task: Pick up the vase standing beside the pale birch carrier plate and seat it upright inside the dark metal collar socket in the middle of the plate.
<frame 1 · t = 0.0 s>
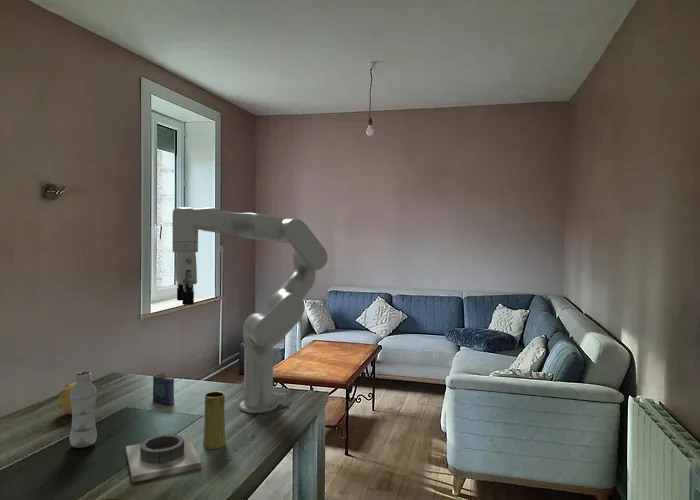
hand: (185, 302, 155), 37 cm above the table, tool pointing down, fingers open, 9 cm apart
plastic bottle: (83, 446, 137), on the table
vase: (214, 445, 139), on the table
carrier plate: (162, 459, 129), on the table
flask: (162, 403, 171), on the table
stress ball: (76, 414, 160), on the table
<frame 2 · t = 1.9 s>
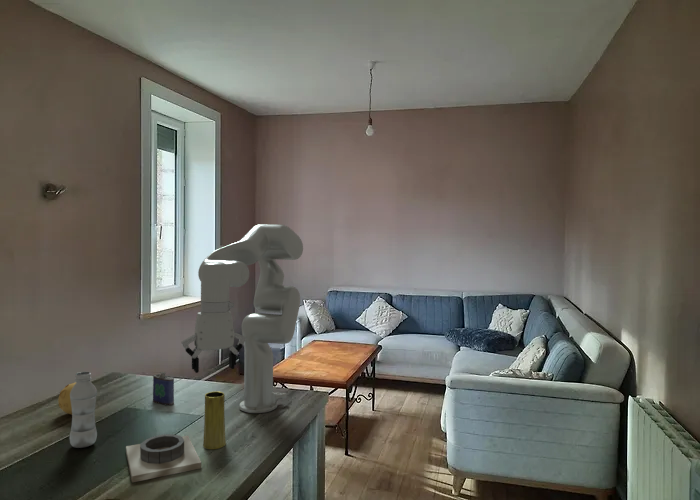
hand: (214, 369, 137), 21 cm above the table, tool pointing down, fingers open, 9 cm apart
nothing on the table moved.
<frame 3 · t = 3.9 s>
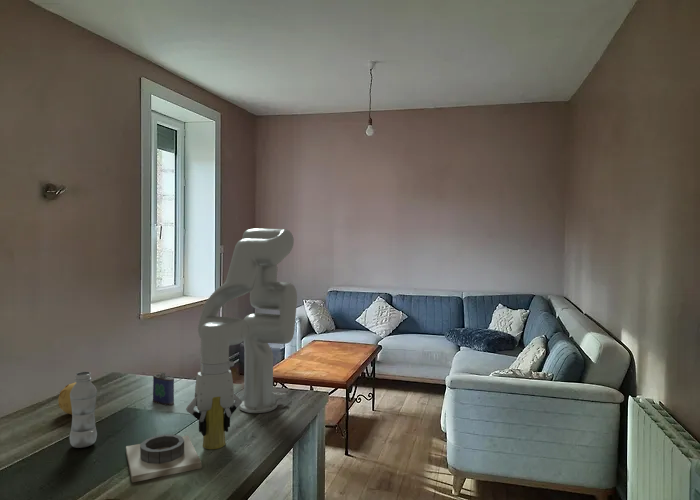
hand: (214, 431, 138), 4 cm above the table, tool pointing down, fingers closed on vase, 5 cm apart
vase: (214, 445, 139), on the table, touching gripper
everything else where it was.
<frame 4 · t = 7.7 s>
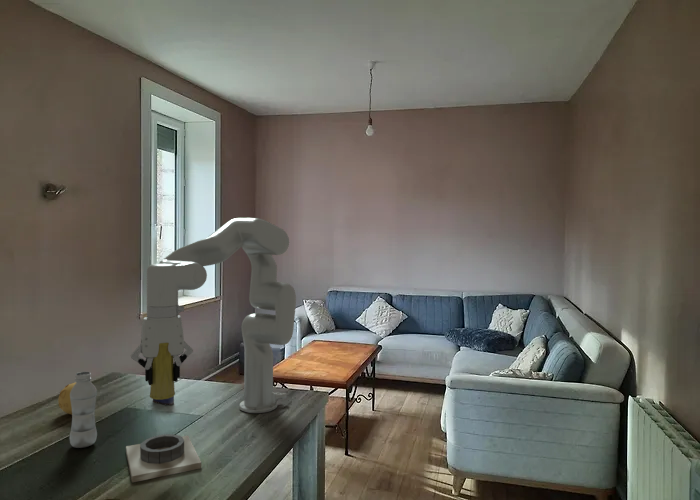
hand: (162, 381, 128), 21 cm above the table, tool pointing down, fingers closed on vase, 5 cm apart
vase: (162, 396, 129), point 17 cm above the table, touching gripper
everything else where it was.
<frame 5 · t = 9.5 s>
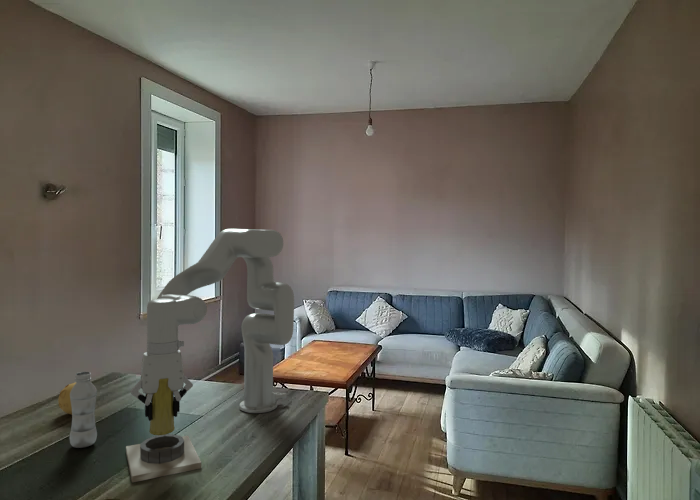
hand: (162, 416, 129), 11 cm above the table, tool pointing down, fingers closed on vase, 5 cm apart
vase: (162, 431, 129), point 7 cm above the table, touching gripper
everything else where it was.
when the fingers open (6 cm above the table, at t = 11.3 s): vase stays where it is, resting on carrier plate.
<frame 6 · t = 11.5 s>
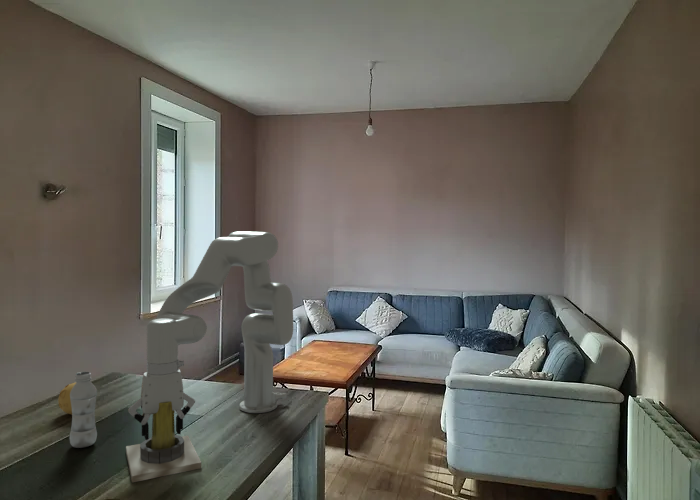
hand: (162, 434, 129), 7 cm above the table, tool pointing down, fingers open, 7 cm apart
vase: (162, 454, 129), point 1 cm above the table, touching carrier plate
everything else where it was.
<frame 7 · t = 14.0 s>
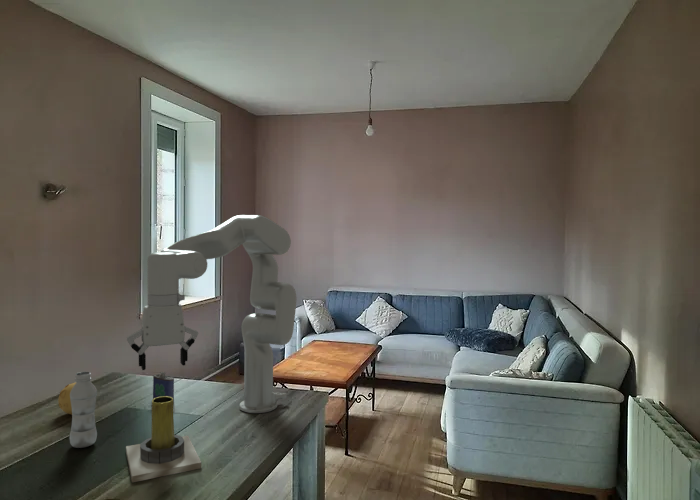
hand: (163, 366, 129), 24 cm above the table, tool pointing down, fingers open, 9 cm apart
nothing on the table moved.
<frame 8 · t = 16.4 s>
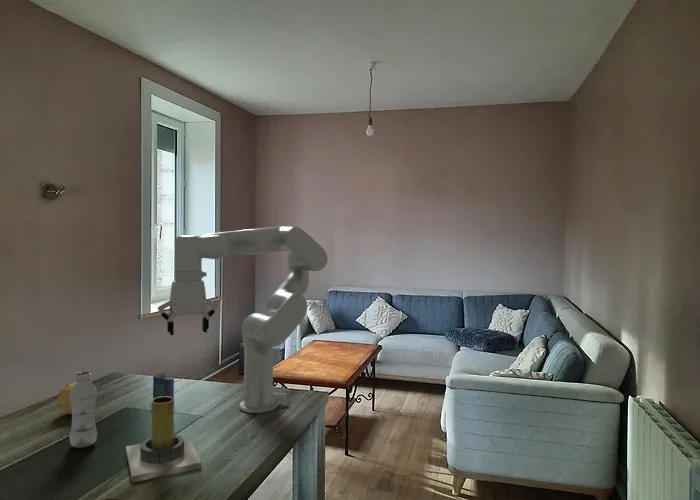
hand: (188, 333, 150), 28 cm above the table, tool pointing down, fingers open, 9 cm apart
nothing on the table moved.
at the end: vase 0.1 cm off-centre on the carrier plate, point 1.3 cm above the carrier plate's base; vase tilted 0°; the gripper is holding nothing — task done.
